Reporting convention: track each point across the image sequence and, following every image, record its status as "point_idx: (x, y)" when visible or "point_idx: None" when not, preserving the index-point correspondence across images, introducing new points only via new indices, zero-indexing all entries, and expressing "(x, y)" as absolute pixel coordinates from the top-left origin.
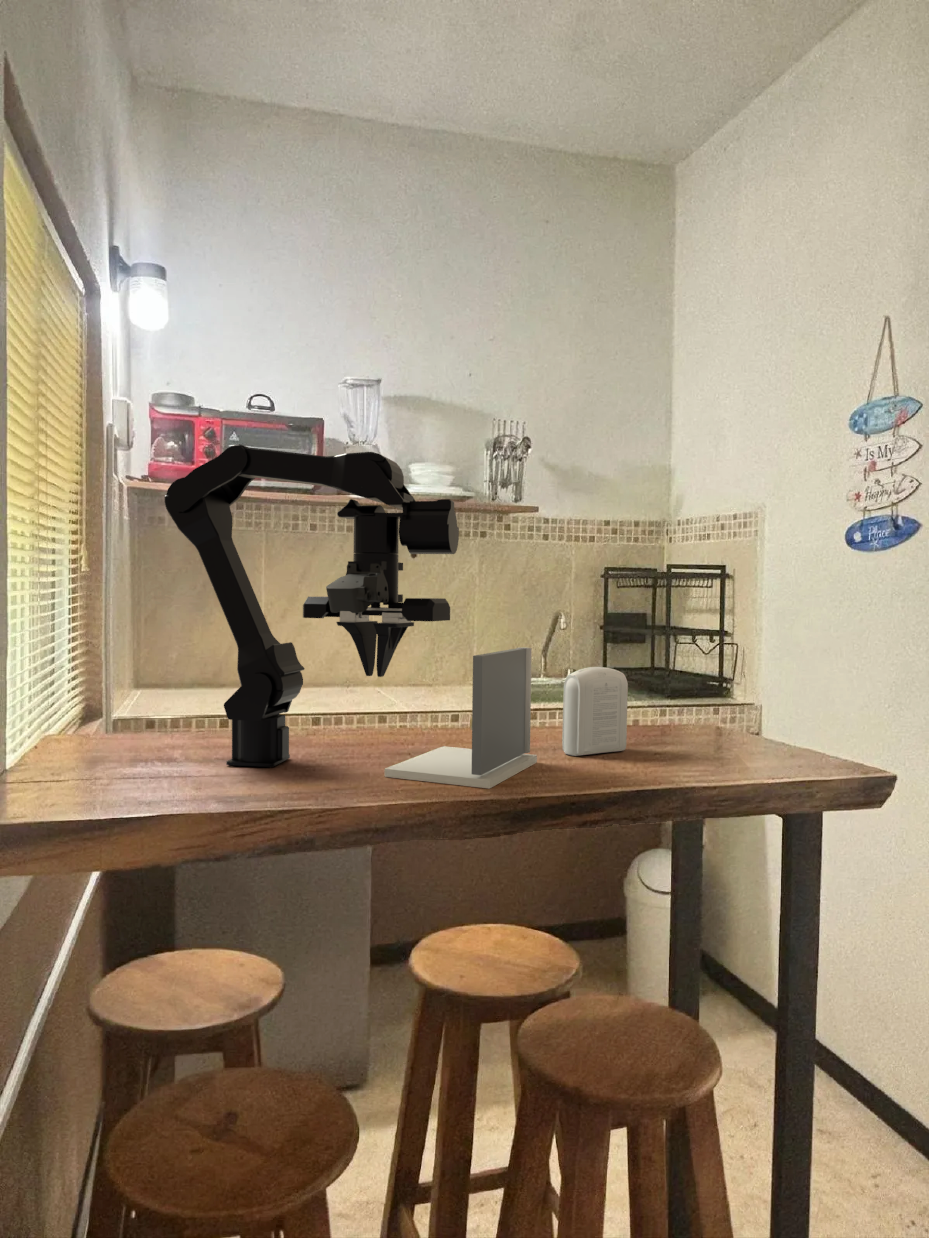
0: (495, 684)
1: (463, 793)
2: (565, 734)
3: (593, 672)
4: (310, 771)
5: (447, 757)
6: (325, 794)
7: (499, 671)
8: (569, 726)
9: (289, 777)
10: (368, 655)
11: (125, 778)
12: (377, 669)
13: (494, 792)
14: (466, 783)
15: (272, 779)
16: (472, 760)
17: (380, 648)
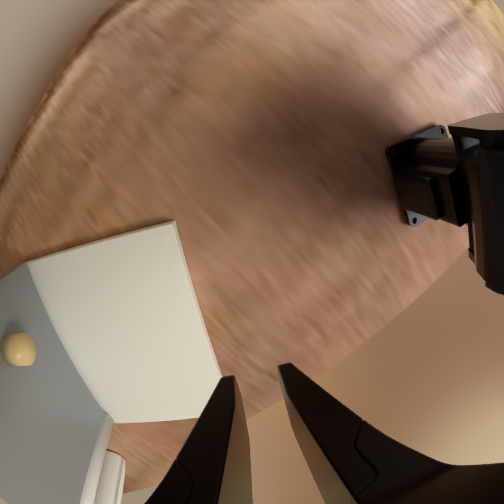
0: None
1: (21, 217)
2: (112, 470)
3: None
4: (319, 168)
5: (162, 361)
6: (166, 58)
7: None
8: (102, 476)
9: (313, 109)
10: (304, 434)
11: (454, 22)
12: (230, 391)
13: (6, 250)
14: (41, 257)
15: (324, 82)
16: (14, 270)
17: (195, 470)
